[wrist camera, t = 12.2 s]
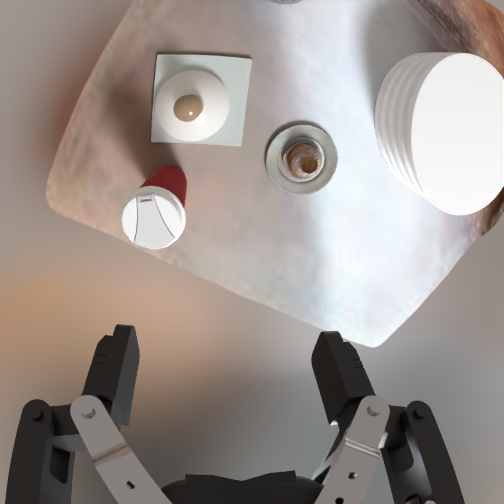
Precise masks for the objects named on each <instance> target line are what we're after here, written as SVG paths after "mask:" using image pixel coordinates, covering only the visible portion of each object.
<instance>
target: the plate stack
mask: <svg viewBox="0 0 504 504" xmlns="http://www.w3.org/2000/svg"><path fill="white" fill-rule="evenodd" d="M375 133H376V139H377V143H378V147H379V150H380V153H381V155H382V157H383V159H384V161H385V163H386V165H387V167H388V168H389V169H390V171H391V172H392V173H393V175H394V176H395V177H396V178H397V179H398V180H400V181H401V182H402V183H404V184H405V185H407V186H408V187H410V188H411V189H412V190H414V191H415V192H417V193H418V194H420V195H421V196H423V197H424V198H425V199H427V200H428V201H430V202H431V203H432V204H434V205H435V206H436V207H438V208H439V209H441V210H442V211H444V212H447V213H449V214H453V215H467V214H471V213H474V212H476V211H478V210H480V209H482V208H483V207H485V206H486V205H488V204H489V203H490V202H491V201H492V200H493V199H494V198H495V197H496V196H497V195H498V193H499V192H500V191H501V189H502V188H503V186H504V79H503V78H502V76H501V75H500V74H499V72H498V71H497V70H496V69H495V68H494V67H493V66H492V65H491V64H490V63H488V62H487V61H486V60H484V59H483V58H481V57H479V56H476V55H473V54H469V53H451V52H448V53H446V52H438V53H437V52H431V53H416V54H412V55H409V56H407V57H405V58H403V59H402V60H400V61H399V62H398V63H397V64H395V65H394V66H393V67H392V69H391V70H390V71H389V72H388V74H387V75H386V77H385V79H384V80H383V82H382V85H381V87H380V90H379V93H378V96H377V100H376V106H375Z"/></svg>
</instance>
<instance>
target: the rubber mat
mask: <svg viewBox="0 0 504 504" xmlns="http://www.w3.org/2000/svg"><path fill="white" fill-rule="evenodd" d="M251 63H252V59H247V58H237V57H225V56H210V55H177V54H170V55H157V63H156V73H155V84H154V97H153V112H152V131H151V142H172V143H198V144H215V145H229V146H241V144H242V135H243V127H244V118H245V110H246V102H247V94H248V86H249V79H250V71H251ZM189 70H198V71H204V72H207V73H209V74H211V75H213V76H215V77H216V78H217V79H218V80H220V81H221V83H222V84H223V85H224V87H225V88H226V90H227V93H228V96H229V103H230V104H229V112H228V116H227V118H226V120H225V122H224V124H223V125H222V126H221V128H220V129H219V130H218V131H217V132H216V133H214V134H213V135H211V136H209V137H208V138H205V139H202V140H199V141H183V140H179V139H176V138H174V137H172V136H170V135H169V134H168V133H166V132H165V131H164V130H163V128H162V127H161V126H160V124H159V122H158V120H157V117H156V113H155V101H156V97H157V94H158V92H159V90H160V89H161V87H162V86H163V84H164V83H165V82H166V81H167V80H168V79H170V78H171V77H172V76H174V75H176V74H178V73H181V72H184V71H189Z"/></svg>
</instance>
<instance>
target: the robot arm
mask: <svg viewBox="0 0 504 504" xmlns="http://www.w3.org/2000/svg"><path fill="white" fill-rule="evenodd" d="M271 1H273V2H276V3H281V4H293V3H297V2H300V1H302V0H271ZM139 357H140V355H139V346H138V342H137V336H136V331H135V327H134V326H131V325H120V324H117V325H116V327H115V330H114V333H113V336H108V335H105V336H104V337H103V338H102V339H101V340H100V341H99V343H98V344H97V347H96V350H95V355H94V356H93V360H92V363H91V366H90V369H89V372H88V376H87V379H86V383H85V386H84V390H83V393H82V395H81V396H80V397H78V398H77V399H75V400H74V401H73V403H72V404H69V405H63V406H52V407H50V406H49V405H48V404H47V403H46V402H45V401H43V400H39V399H36V400H31V401H29V402H28V403H27V404H26V405H25V406H24V408H23V410H22V414H21V418H20V422H19V426H18V430H17V434H16V438H15V443H14V448H13V452H12V458H11V463H10V469H9V476H8V484H7V490H6V500H5V504H71V491H72V477H73V467H74V458H75V451H85V450H88V451H89V452H90V454H91V456H92V458H93V463H94V465H95V467H96V469H97V470H98V472H99V474H100V475H101V477H102V479H103V480H104V482H105V484H106V485H107V487H108V488H109V490H110V491H111V493H112V494H113V496H114V497H115V499H116V500H117V501H118V503H119V504H360V503H361V500H362V499H363V497H364V494H365V492H366V490H367V488H368V485H369V483H370V481H371V478H372V476H373V473H374V471H375V468H376V465H377V463H378V460H379V456H380V454H379V453H377V450H378V447H379V448H380V450H381V453H382V457H383V460H384V464H385V468H386V472H387V475H388V479H389V483H390V487H391V491H392V495H393V499H394V503H395V504H465V503H464V499H463V496H462V493H461V489H460V486H459V483H458V480H457V477H456V474H455V471H454V468H453V465H452V463H451V460H450V457H449V454H448V451H447V449H446V446H445V443H444V441H443V438H442V436H441V433H440V430H439V428H438V425H437V423H436V420H435V418H434V416H433V413H432V411H431V409H430V407H429V406H428V405H427V404H425V403H424V402H422V401H413V402H411V403H410V404H409V405H408V406H407V407H399V406H391V405H388V404H387V402H386V401H385V400H384V399H382V398H380V397H378V396H376V395H375V393H374V390H373V388H372V386H371V383H370V381H369V379H368V376H367V374H366V372H365V369H364V368H363V365H362V362H361V361H360V358H359V356H358V353H357V351H356V349H355V348H354V347H353V346H352V345H351V344H350V343H349V342H343V339H342V337H341V335H340V333H339V332H338V331H324V332H321V333H320V335H319V337H318V340H317V343H316V345H315V348H314V351H313V353H312V358H311V361H312V368H313V371H314V374H315V377H316V381H317V384H318V388H319V391H320V395H321V398H322V401H323V404H324V408H325V412H326V415H327V419H328V422H329V425H336V424H338V426H339V431H338V432H337V434H336V436H335V439H334V440H333V442H332V444H331V446H330V448H329V450H328V452H327V454H326V456H325V458H324V460H323V462H322V464H321V465H320V466H319V468H318V469H317V471H316V472H315V473H314V475H313V476H312V478H311V479H308V478H305V477H301V476H296V474H295V471H286V472H276V473H268V474H265V475H261V476H258V477H255V478H251V479H248V480H244V481H239V480H233V479H228V478H223V477H218V476H214V475H189V474H186V476H185V477H186V479H184V480H179V481H175V482H173V483H170V484H168V485H166V486H164V487H163V488H161V489H160V488H159V487H158V486H157V485H156V483H155V482H154V481H153V479H152V478H151V477H150V476H149V474H148V473H147V472H146V470H145V469H144V467H143V466H142V465H141V463H140V462H139V461H138V459H137V458H136V456H135V455H134V453H133V452H132V450H131V449H130V447H129V446H128V445H127V443H126V442H125V440H124V439H123V437H122V436H121V434H120V428H121V425H126V426H128V425H129V418H130V411H131V405H132V399H133V393H134V387H135V381H136V376H137V370H138V365H139Z"/></svg>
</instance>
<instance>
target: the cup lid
mask: <svg viewBox="0 0 504 504" xmlns="http://www.w3.org/2000/svg"><path fill="white" fill-rule="evenodd" d="M229 104H230V103H229V96H228V93H227V90H226V88H225V87H224V85H223V84H222V83H221V81H220V80H218V79H217V78H216V77H215V76H213V75H211V74H209V73H207V72H204V71H198V70H189V71H184V72H181V73H178V74H176V75H174V76H172V77H171V78H170V79H168V80H167V81H166V82H165V83H164V84H163V86H162V87H161V89H160V90H159V92H158V94H157V97H156V101H155V113H156V117H157V120H158V122H159V124H160V126H161V127H162V128H163V130H164V131H165V132H166V133H168V134H169V135H170V136H172V137H174V138H176V139H179V140H183V141H199V140H202V139H205V138H208V137H209V136H211V135H213V134H214V133H216V132H217V131H218V130H219V129H220V128H221V126H222V125H223V124H224V122H225V120H226V118H227V116H228V112H229Z"/></svg>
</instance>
